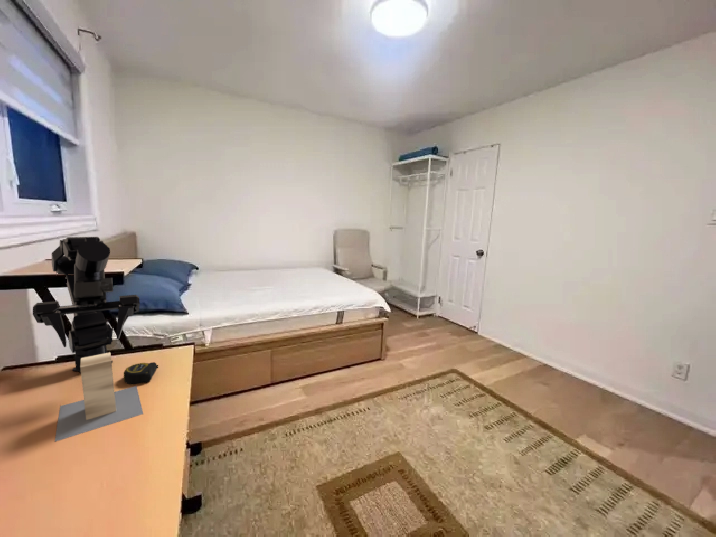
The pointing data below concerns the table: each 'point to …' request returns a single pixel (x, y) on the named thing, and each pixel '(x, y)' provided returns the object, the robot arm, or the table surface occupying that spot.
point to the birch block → (98, 385)
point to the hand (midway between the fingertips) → (92, 342)
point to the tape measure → (140, 373)
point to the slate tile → (75, 416)
